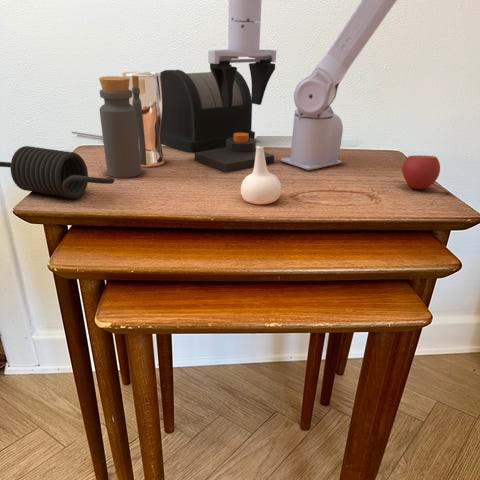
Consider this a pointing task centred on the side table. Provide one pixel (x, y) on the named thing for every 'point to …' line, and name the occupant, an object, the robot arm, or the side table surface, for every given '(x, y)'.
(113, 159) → the bottle
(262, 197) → the garlic bulb
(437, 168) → the fruit
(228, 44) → the robot arm
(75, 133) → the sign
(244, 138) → the button
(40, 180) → the coil
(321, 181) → the side table surface
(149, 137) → the beer glass
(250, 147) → the scale
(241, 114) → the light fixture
